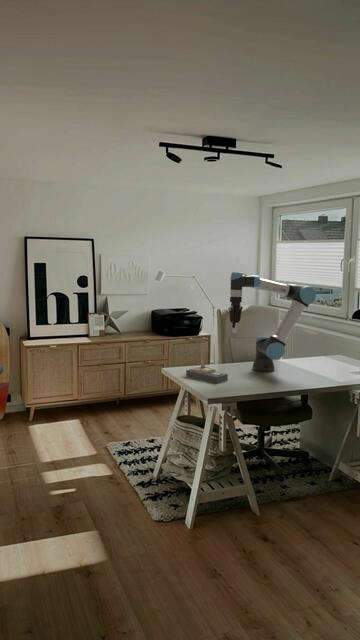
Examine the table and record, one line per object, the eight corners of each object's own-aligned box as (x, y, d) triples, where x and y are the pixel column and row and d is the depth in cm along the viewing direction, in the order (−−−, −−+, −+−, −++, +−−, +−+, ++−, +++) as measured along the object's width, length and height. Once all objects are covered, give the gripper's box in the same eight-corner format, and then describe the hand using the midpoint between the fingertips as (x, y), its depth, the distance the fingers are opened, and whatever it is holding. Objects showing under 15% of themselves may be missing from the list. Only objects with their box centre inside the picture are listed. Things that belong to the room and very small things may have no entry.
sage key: (215, 376, 333) (216, 372, 333) (222, 378, 330) (222, 373, 330) (211, 378, 330) (211, 373, 329) (217, 379, 326) (217, 374, 326)
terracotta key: (196, 372, 344) (196, 368, 343) (202, 373, 340) (202, 369, 340) (191, 373, 340) (191, 369, 340) (197, 375, 337) (197, 370, 336)
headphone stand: (201, 373, 349) (202, 340, 346) (194, 369, 359) (195, 337, 356) (215, 372, 353) (216, 339, 350) (208, 368, 363) (209, 337, 360)
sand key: (206, 372, 338) (206, 367, 338) (212, 373, 335) (212, 369, 335) (201, 373, 335) (201, 369, 334) (207, 375, 331) (207, 370, 331)
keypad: (186, 376, 339) (186, 370, 339) (197, 373, 347) (197, 367, 347) (216, 383, 323) (217, 377, 322) (227, 380, 331) (227, 374, 330)
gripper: (237, 295, 345) (235, 330, 348) (225, 296, 336) (223, 332, 339) (246, 296, 340) (245, 332, 343) (234, 297, 331) (233, 334, 334)
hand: (234, 332), depth 341 cm, fingers closed
